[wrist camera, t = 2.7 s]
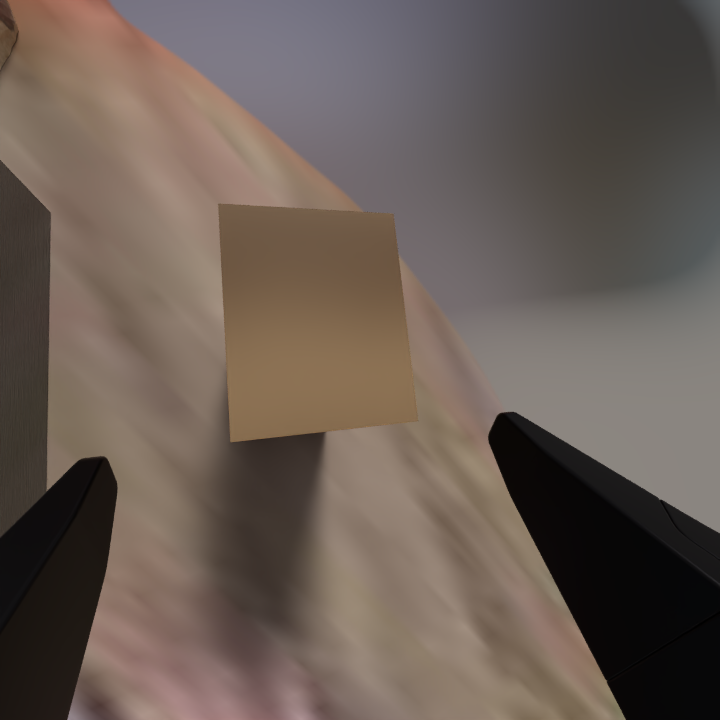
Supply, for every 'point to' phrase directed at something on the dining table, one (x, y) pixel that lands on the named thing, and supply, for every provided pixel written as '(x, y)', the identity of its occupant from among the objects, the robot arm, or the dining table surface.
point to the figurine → (6, 31)
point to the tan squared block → (313, 321)
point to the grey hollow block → (22, 347)
